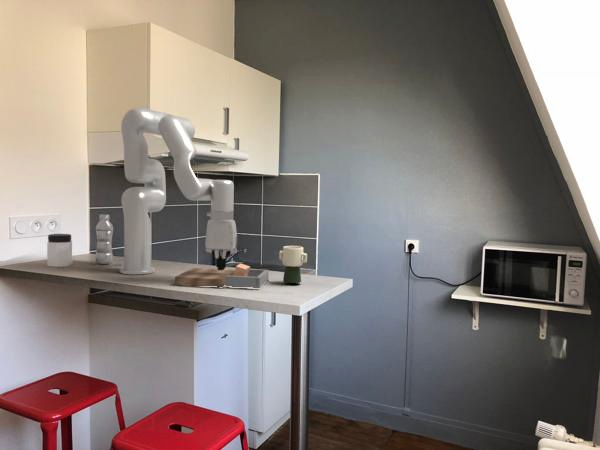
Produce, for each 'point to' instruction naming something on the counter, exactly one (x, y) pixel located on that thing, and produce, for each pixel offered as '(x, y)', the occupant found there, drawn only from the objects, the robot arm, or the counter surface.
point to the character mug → (292, 263)
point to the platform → (203, 277)
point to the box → (249, 279)
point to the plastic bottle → (104, 240)
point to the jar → (59, 250)
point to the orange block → (241, 270)
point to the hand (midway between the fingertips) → (221, 269)
